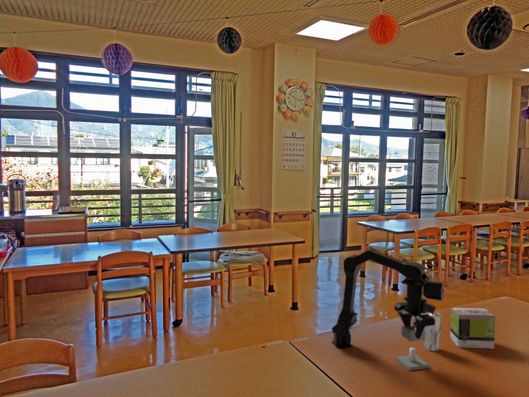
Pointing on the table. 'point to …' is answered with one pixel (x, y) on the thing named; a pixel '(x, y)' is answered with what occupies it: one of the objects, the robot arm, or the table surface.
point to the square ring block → (411, 333)
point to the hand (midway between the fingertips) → (413, 334)
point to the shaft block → (412, 361)
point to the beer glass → (433, 333)
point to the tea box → (472, 327)
